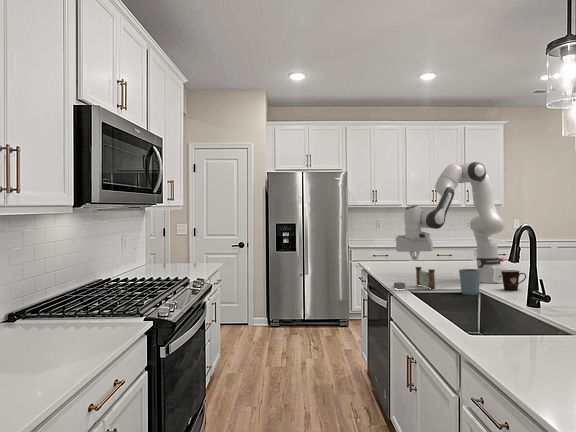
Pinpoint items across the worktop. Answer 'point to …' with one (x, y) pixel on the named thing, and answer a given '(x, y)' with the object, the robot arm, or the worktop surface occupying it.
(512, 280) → the coffee mug
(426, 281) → the block
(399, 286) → the rubber block
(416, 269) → the hinge post
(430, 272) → the post
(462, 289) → the teal cup
